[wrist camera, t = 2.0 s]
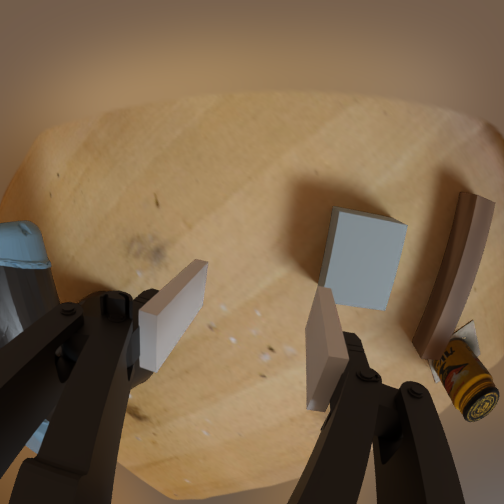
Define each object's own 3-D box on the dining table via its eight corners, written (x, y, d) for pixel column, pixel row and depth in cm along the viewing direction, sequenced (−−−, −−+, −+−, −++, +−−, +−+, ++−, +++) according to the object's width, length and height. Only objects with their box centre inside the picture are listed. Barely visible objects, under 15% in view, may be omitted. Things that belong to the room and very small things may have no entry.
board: (411, 341, 33) (421, 358, 29) (460, 191, 28) (477, 194, 24) (429, 344, 33) (439, 360, 29) (477, 198, 27) (495, 202, 23)
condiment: (424, 351, 33) (457, 408, 22) (472, 319, 31) (516, 365, 20) (435, 382, 34) (462, 437, 23) (479, 353, 32) (515, 400, 21)
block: (317, 283, 33) (320, 301, 28) (332, 205, 31) (339, 211, 26) (374, 292, 32) (385, 310, 28) (391, 217, 30) (407, 225, 25)
